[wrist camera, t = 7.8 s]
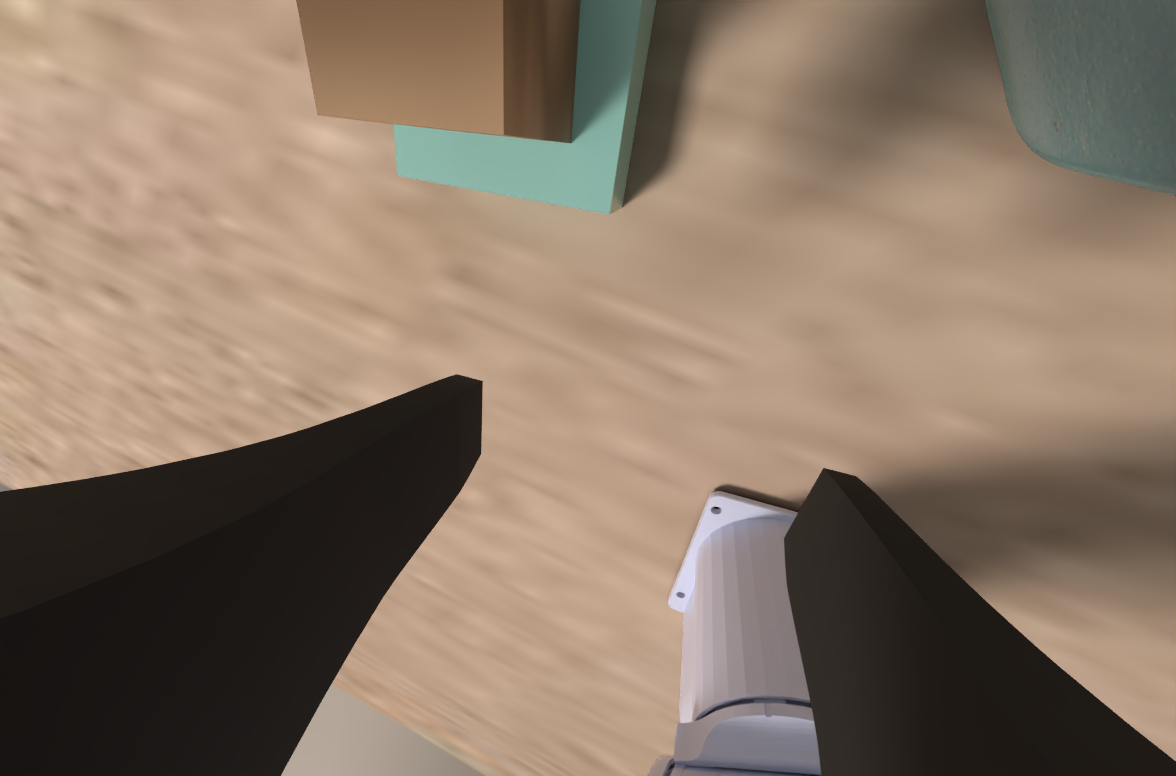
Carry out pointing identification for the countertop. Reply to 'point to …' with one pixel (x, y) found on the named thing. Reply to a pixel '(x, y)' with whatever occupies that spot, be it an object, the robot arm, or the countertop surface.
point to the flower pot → (1093, 84)
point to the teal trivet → (545, 168)
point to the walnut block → (446, 63)
